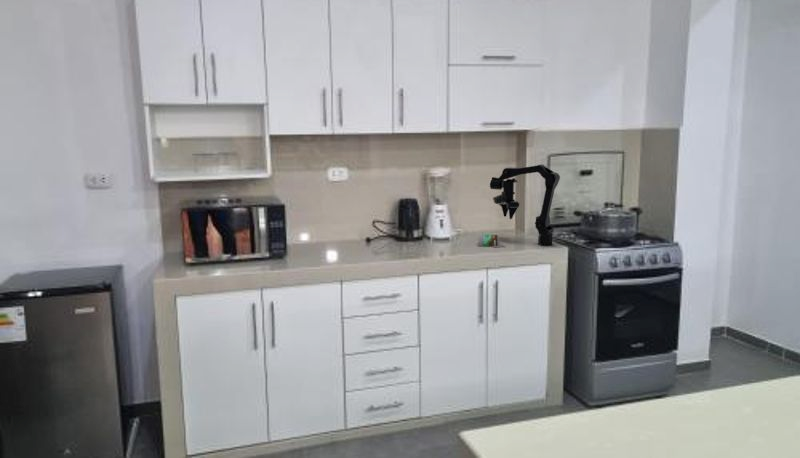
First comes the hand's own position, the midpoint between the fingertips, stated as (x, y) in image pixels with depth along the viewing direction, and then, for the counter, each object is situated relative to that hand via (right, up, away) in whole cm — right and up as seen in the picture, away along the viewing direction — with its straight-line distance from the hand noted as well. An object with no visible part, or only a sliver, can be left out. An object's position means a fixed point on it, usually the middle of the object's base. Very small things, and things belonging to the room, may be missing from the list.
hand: (507, 217), depth 332 cm
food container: (-7, -12, -11) cm, 18 cm away
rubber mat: (-8, -15, -11) cm, 20 cm away
